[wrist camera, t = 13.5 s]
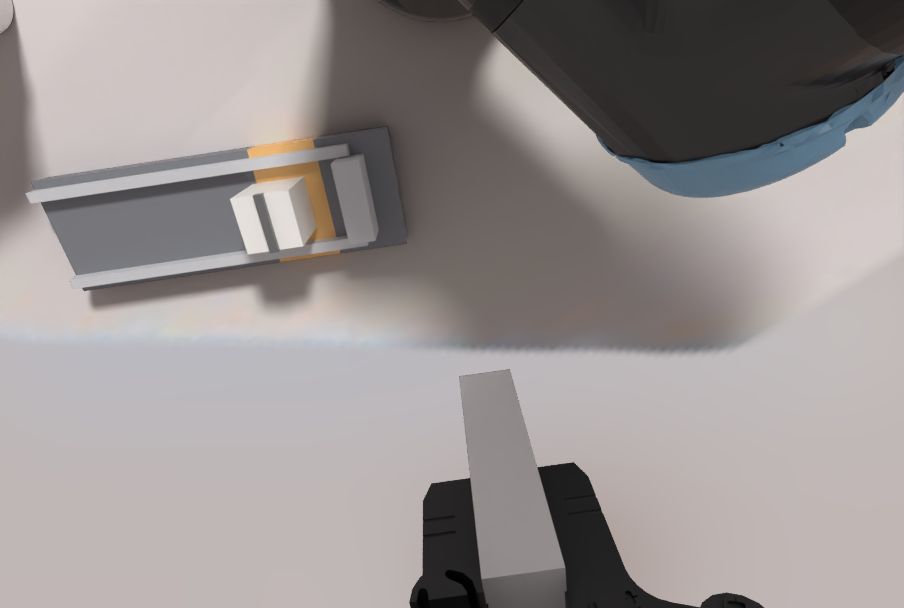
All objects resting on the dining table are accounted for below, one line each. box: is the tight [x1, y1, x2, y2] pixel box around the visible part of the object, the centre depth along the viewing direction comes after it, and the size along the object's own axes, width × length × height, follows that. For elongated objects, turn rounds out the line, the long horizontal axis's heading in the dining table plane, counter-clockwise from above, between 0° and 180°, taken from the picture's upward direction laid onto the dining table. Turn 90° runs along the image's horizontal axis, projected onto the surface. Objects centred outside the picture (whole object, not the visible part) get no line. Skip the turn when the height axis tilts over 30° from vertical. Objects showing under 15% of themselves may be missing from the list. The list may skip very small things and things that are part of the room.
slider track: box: [25, 126, 407, 291], centre depth 39 cm, size 9×27×5 cm, turn 98°
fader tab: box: [230, 176, 317, 254], centre depth 37 cm, size 4×4×5 cm
